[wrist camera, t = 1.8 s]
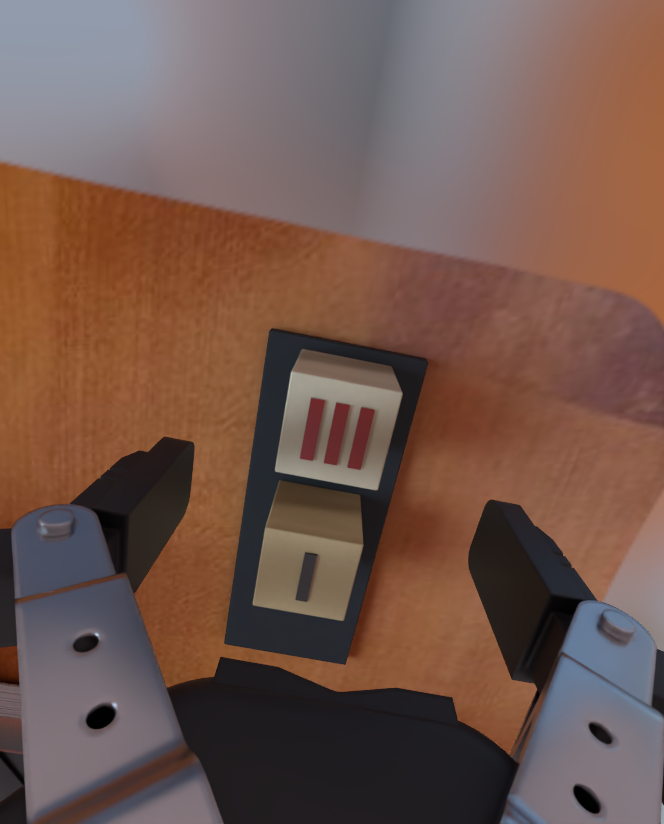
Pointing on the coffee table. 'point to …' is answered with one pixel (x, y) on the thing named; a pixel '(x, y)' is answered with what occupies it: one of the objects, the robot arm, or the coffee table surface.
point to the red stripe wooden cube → (338, 419)
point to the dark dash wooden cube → (310, 551)
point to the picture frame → (10, 740)
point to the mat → (283, 349)
